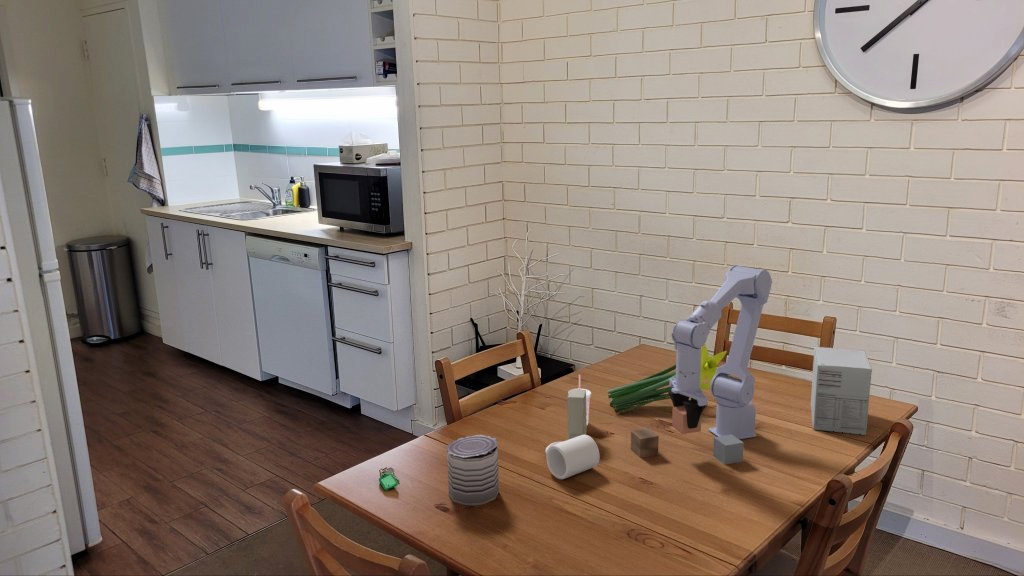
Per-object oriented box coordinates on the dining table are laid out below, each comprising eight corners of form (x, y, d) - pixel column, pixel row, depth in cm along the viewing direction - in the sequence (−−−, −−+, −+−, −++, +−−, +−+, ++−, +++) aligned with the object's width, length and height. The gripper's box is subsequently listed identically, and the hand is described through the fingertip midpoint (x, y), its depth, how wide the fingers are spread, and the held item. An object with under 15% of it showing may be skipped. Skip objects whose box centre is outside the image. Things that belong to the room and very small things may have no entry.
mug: (600, 472, 178) (600, 440, 176) (567, 484, 172) (567, 452, 170) (566, 454, 187) (566, 424, 185) (535, 466, 181) (534, 435, 180)
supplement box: (867, 436, 194) (873, 369, 190) (812, 430, 198) (816, 365, 194) (860, 411, 210) (865, 349, 206) (809, 406, 214) (813, 345, 210)
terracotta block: (690, 423, 187) (690, 404, 186) (700, 431, 182) (701, 411, 181) (672, 426, 185) (672, 407, 184) (682, 434, 181) (683, 414, 179)
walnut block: (648, 446, 191) (649, 428, 189) (658, 454, 186) (658, 436, 185) (630, 449, 189) (631, 431, 188) (639, 457, 184) (640, 439, 183)
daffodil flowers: (605, 398, 226) (716, 363, 226) (621, 439, 215) (737, 402, 216) (599, 365, 213) (716, 328, 214) (615, 406, 203) (738, 367, 204)
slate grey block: (730, 453, 186) (731, 434, 185) (742, 461, 181) (743, 442, 180) (713, 456, 185) (713, 437, 183) (724, 465, 180) (725, 445, 179)
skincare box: (584, 442, 194) (584, 398, 191) (567, 441, 194) (566, 397, 192) (586, 432, 200) (586, 389, 197) (570, 431, 200) (569, 388, 198)
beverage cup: (565, 426, 204) (565, 377, 201) (572, 417, 209) (572, 370, 206) (587, 429, 202) (587, 379, 199) (593, 420, 207) (593, 372, 204)
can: (480, 510, 161) (478, 459, 159) (438, 497, 167) (435, 447, 164) (508, 488, 171) (507, 439, 168) (467, 476, 177) (466, 429, 174)
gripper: (658, 363, 186) (657, 414, 189) (689, 382, 172) (687, 437, 175) (684, 359, 188) (682, 410, 191) (716, 378, 174) (713, 432, 177)
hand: (686, 423), depth 183 cm, fingers closed on terracotta block, 5 cm apart
